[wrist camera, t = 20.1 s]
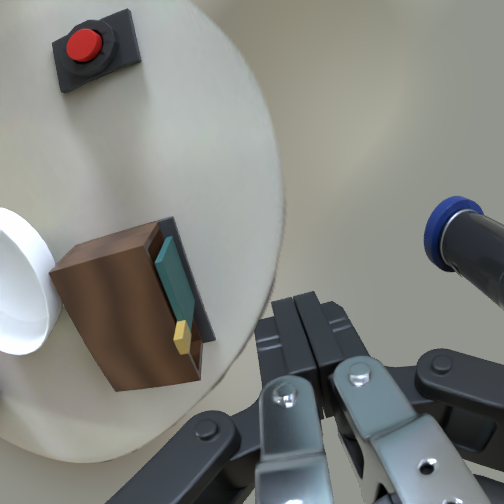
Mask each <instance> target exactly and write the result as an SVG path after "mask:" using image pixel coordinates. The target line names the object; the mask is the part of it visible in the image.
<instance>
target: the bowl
mask: <svg viewBox="0 0 504 504" xmlns="http://www.w3.org/2000/svg"><path fill="white" fill-rule="evenodd" d="M55 265H56V263H55V261H54V258H53V256H52V254H51V252H50V251H49V249H48V247H47V245H46V243H45V242H44V241H43V239H42V238H41V237H40V235H39V234H38V233H37V231H36V230H35V229H34V228H33V227H32V226H31V225H30V224H29V223H28V222H27V221H26V220H24V219H23V218H21V217H20V216H19V215H17V214H16V213H14V212H11V211H9V210H7V209H4V208H0V351H2V352H5V353H7V354H13V355H27V354H30V353H33V352H35V351H36V350H38V349H39V348H40V347H41V346H42V345H43V344H44V342H45V340H46V339H47V337H48V336H49V334H50V332H51V331H52V329H53V328H54V326H55V324H56V322H57V320H58V318H59V315H60V312H61V309H62V300H61V298H60V296H59V294H58V292H57V290H56V288H55V286H54V284H53V282H52V280H51V277H50V275H49V272H50V270H51V269H52V268H53V267H54V266H55Z"/></svg>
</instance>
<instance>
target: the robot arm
mask: <svg viewBox="0 0 504 504" xmlns="http://www.w3.org/2000/svg"><path fill="white" fill-rule="evenodd" d="M438 251H439V255H440V257H441V259H442V260H443V261H444V262H445V263H446V264H447V265H449V266H450V267H452V268H453V269H454V270H455V271H456V272H457V274H459V273H460V274H461V275H462V276H463V277H465V278H466V279H467V280H468V281H470V282H471V283H472V284H473V285H475V286H476V287H477V288H478V289H479V290H481V291H482V292H483V293H484V294H485V295H487V296H488V297H489V298H490V299H491V300H492V301H493V302H495V303H496V304H497V305H498V306H499V307H500V308H502V309H503V310H504V225H503V224H501V223H499V222H497V221H495V220H493V219H491V218H489V217H487V216H485V215H483V214H481V213H477V212H476V211H474V210H472V209H470V208H461V209H458V210H456V211H455V212H453V213H452V214H451V215H450V216H449V217H448V218H447V220H446V221H445V223H444V224H443V226H442V228H441V231H440V234H439V239H438ZM460 274H459V275H460ZM461 275H460V276H461ZM293 301H294V302H293ZM271 304H272V308H273V313H274V316H273V317H269V318H265V319H261V320H259V321H258V323H257V326H256V328H255V330H254V332H255V339H256V346H257V353H258V359H259V366H260V374H261V381H262V390H261V392H260V395H259V398H258V399H257V400H256V402H255V403H254V404H252V405H251V406H250V407H248V408H247V409H245V410H243V411H241V412H239V413H237V414H235V415H232V416H229V415H227V414H226V413H224V412H221V411H205V412H202V413H199V414H197V415H195V416H193V417H192V418H191V419H190V420H188V421H187V422H186V424H185V425H184V426H183V427H182V428H181V429H180V430H179V431H178V432H177V433H176V434H175V435H174V436H173V437H172V438H171V439H170V440H169V441H168V442H167V443H166V445H164V446H163V448H161V449H160V450H159V451H158V452H157V454H155V456H154V457H152V459H151V460H150V461H149V462H148V463H146V465H144V467H142V468H141V470H139V471H138V472H137V473H136V474H135V475H134V477H132V478H131V479H130V480H129V481H128V482H127V483H126V484H125V485H124V486H123V487H122V488H121V489H120V490H119V491H118V492H117V493H116V494H115V495H114V496H112V497H111V498H110V499H109V500H108V501H107V502H106V503H105V504H243V502H244V501H245V500H246V498H247V497H248V496H249V495H250V493H251V492H252V490H253V489H254V488H255V504H334V498H333V492H332V486H331V480H330V475H329V469H328V463H327V458H326V453H325V449H324V444H323V433H322V426H321V419H324V415H323V409H324V413H325V416H326V418H328V417H332V416H334V417H335V420H336V423H337V426H338V436H339V439H340V441H341V444H342V446H343V448H344V450H345V452H346V455H347V457H348V460H349V462H350V464H351V466H352V469H353V471H354V473H355V476H356V478H357V480H358V483H359V486H360V488H361V494H362V498H363V501H364V504H504V483H502V482H499V481H495V480H493V479H490V478H487V477H484V476H481V475H476V474H472V473H471V471H470V469H469V468H468V467H467V465H466V463H465V462H464V460H463V459H465V460H468V461H471V462H474V463H477V464H480V465H483V466H486V467H490V468H492V469H495V470H499V471H502V472H504V365H502V364H498V363H495V362H491V361H487V360H484V359H480V358H477V357H474V356H470V355H466V354H463V353H459V352H456V351H452V350H449V349H434V350H431V351H428V352H426V353H425V354H423V355H422V356H421V357H420V359H419V360H418V362H417V365H416V366H408V367H388V366H384V365H383V364H382V363H381V362H380V361H379V360H377V359H375V358H373V357H371V356H370V355H369V353H368V351H367V350H366V348H365V346H364V344H363V342H362V341H361V339H360V337H359V335H358V334H357V332H356V330H355V328H354V327H353V325H352V323H351V322H350V319H348V316H347V314H346V313H345V311H344V309H343V308H342V307H341V306H339V305H338V304H336V303H334V302H333V301H331V302H327V303H323V304H320V302H319V301H318V298H317V296H316V294H315V292H314V291H312V292H309V293H304V294H300V295H297V296H293V299H292V297H289V298H285V299H281V300H277V301H273V302H271ZM322 407H323V408H322Z"/></svg>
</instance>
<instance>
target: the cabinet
mask: <svg viewBox="0 0 504 504" xmlns="http://www.w3.org/2000/svg"><path fill="white" fill-rule="evenodd" d="M170 236H173V239H174V242H175V245H176V248H177V251H178V254H179V257H180V260H181V263H182V265H183V268H184V271H185V274H186V277H187V280H188V282H189V285H190V288H191V291H192V293H193V296H194V299H195V306H194V313H193V320H192V328H191V342H190V351H189V353H187V354H182V355H180V353H179V351H178V349H177V347H176V345H175V342H174V340H173V339H174V334H175V329H176V324H177V322H178V321H177V318H176V316H175V314H174V311H173V309H172V306H171V304H170V301H169V299H168V296H167V294H166V292H165V289H164V286H163V284H162V281H161V279H160V276H159V274H158V271H157V268H156V266H155V261H156V259H157V256H158V254H159V252H160V250H161V248H162V246H163V243H164V241H165V239H166V238H167V237H170ZM49 275H50V277H51V280H52V282H53V284H54V286H55V288H56V290H57V292H58V294H59V296H60V298H61V300H62V302H63V304H64V306H65V308H66V310H67V312H68V314H69V316H70V317H71V319H72V321H73V323H74V325H75V327H76V328H77V330H78V332H79V334H80V336H81V337H82V339H83V341H84V342H85V344H86V346H87V348H88V349H89V351H90V353H91V354H92V356H93V358H94V359H95V361H96V362H97V364H98V366H99V367H100V369H101V370H102V372H103V373H104V375H105V376H106V378H107V380H108V381H109V383H110V384H111V386H112V387H113V388H114V390H115V391H116V392H118V391H128V390H137V389H145V388H153V387H161V386H168V385H175V384H181V383H187V382H194V381H199V380H201V365H202V350H203V343H205V342H210V341H215V340H216V338H215V335H214V332H213V330H212V327H211V324H210V322H209V319H208V316H207V314H206V311H205V308H204V305H203V303H202V300H201V297H200V294H199V291H198V289H197V286H196V283H195V280H194V277H193V274H192V271H191V268H190V266H189V263H188V260H187V257H186V254H185V251H184V248H183V245H182V242H181V239H180V236H179V233H178V229H177V226H176V223H175V220H174V217H173V216H172V217H169V218H165V219H161V220H158V221H154V222H151V223H147V224H144V225H141V226H137V227H134V228H130V229H127V230H124V231H120V232H117V233H114V234H110V235H107V236H104V237H101V238H97V239H94V240H91V241H88V242H85V243H82V244H78V245H76V246H75V247H74V248H73V249H71V250H70V251H69V252H68V253H67V254H66V255H65V256H64V257H63V258H62V259H61V260H60V261H59V262H58V263H57V264H56V265H55V266H54V267H53V268H52V269H51V270H50V272H49Z"/></svg>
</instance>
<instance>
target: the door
mask: <svg viewBox="0 0 504 504" xmlns="http://www.w3.org/2000/svg"><path fill="white" fill-rule="evenodd" d="M155 266H156V268H157V271H158V274H159V276H160V279H161V281H162V284H163V286H164V289H165V292H166V294H167V296H168V299H169V301H170V304H171V306H172V309H173V311H174V314H175V316H176V318H177V321H178V322H177V324H176V329H175V334H174V339H173V340H174V342H175V345H176V347H177V349H178V351H179V353H180V355H182V354H187V353H189V351H190V342H191V328H192V320H193V313H194V306H195V299H194V296H193V293H192V291H191V288H190V285H189V282H188V280H187V277H186V274H185V271H184V268H183V265H182V263H181V260H180V257H179V254H178V251H177V248H176V245H175V242H174V239H173V236H170V237H167V238H166V239H165V241H164V243H163V246H162V248H161V250H160V252H159V254H158V256H157V259H156V261H155Z"/></svg>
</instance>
